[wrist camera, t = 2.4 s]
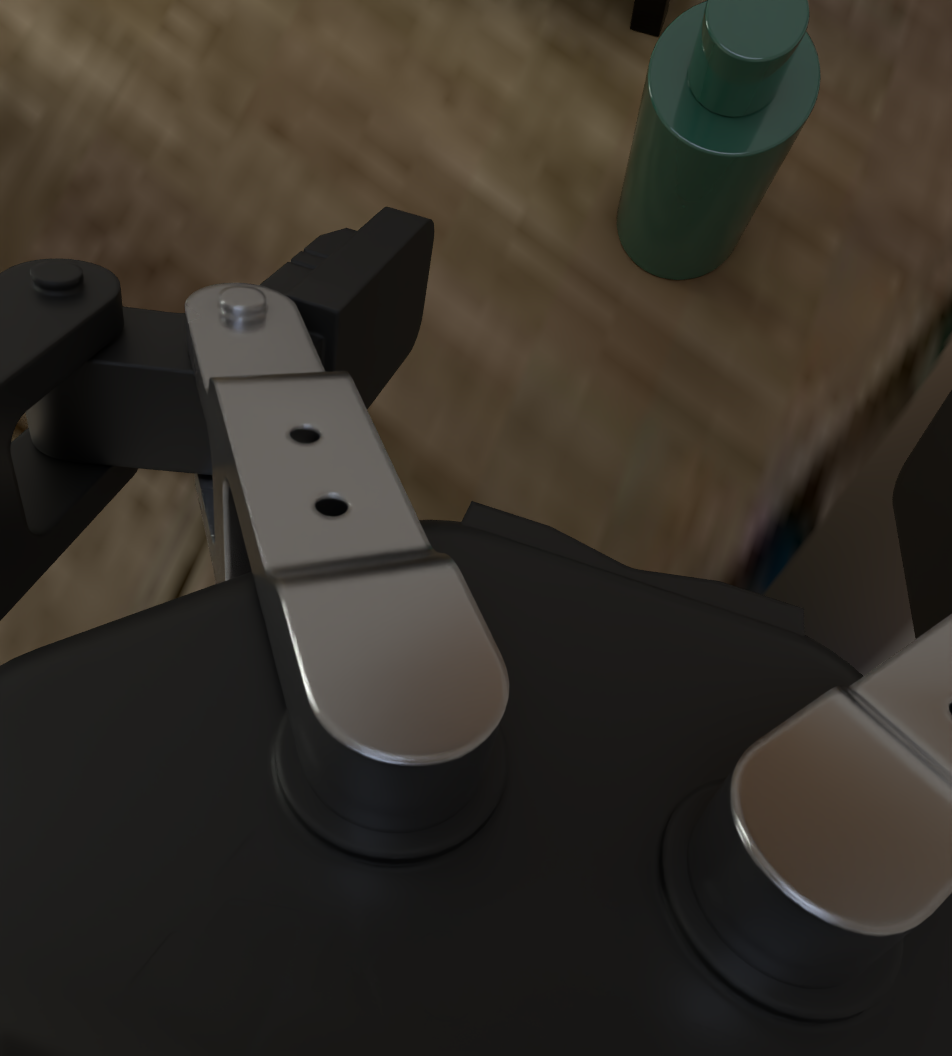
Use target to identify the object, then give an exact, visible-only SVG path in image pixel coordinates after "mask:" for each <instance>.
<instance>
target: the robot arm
mask: <svg viewBox="0 0 952 1056" xmlns="http://www.w3.org/2000/svg"><path fill="white" fill-rule="evenodd" d="M433 241H434V223H433V221H432V220H431V219H428V218H424V217H421V216H417V215H414V214H411V213H407V212H404V211H400V210H397V209H393V208H390V207H385V208H383V209H382V210H381V211H380V212H378V213H377V214H376V215H375V216H374V217H373V218H372V219H371V220H369V221H368V222H367V223H366V224H365V225H364V226H363V227H361V228H360V229H359V230H358V231H355V230H352V229H348V228H345V229H341V230H338V231H334V232H331V233H327V234H324V235H320V236H319V237H318V238H316V239H315V240H314V241H313V242H312V243H310V244H309V245H308V246H307V247H305V248H304V251H303V252H302V251H301V252H299V253H298V254H297V255H296V256H294V257H293V258H292V259H291V262H287V263H286V264H285V265H283V266H282V267H281V268H280V269H279V270H277V271H276V272H275V273H274V274H272V275H271V276H270V277H269V278H268V279H266V280H265V281H264V282H263V283H261V284H260V285H254V284H247V283H223V284H215V285H211V286H207V287H204V288H202V289H199V290H197V291H196V292H194V293H193V294H191V295H190V296H189V297H188V299H187V300H186V303H185V313H171V312H162V311H154V310H146V309H138V308H130V307H123V306H122V297H121V288H120V282H119V280H118V278H117V277H116V276H115V275H114V274H113V273H112V272H111V271H109V270H107V269H106V268H103V267H101V266H99V265H96V264H93V263H89V262H85V261H80V260H73V259H41V260H34V261H29V262H25V263H21V264H18V265H15V266H13V267H11V268H9V269H7V270H5V271H3V272H2V273H0V621H1V619H2V618H3V617H4V616H5V615H6V614H7V613H8V612H9V611H10V610H11V609H12V608H13V606H14V605H15V604H16V603H17V602H18V601H19V600H20V599H21V598H22V597H23V596H24V594H25V593H26V592H27V591H28V590H29V589H30V588H31V587H32V586H33V585H34V584H35V582H36V581H37V580H38V579H39V578H40V577H41V576H42V575H43V574H44V573H45V572H46V571H47V569H48V568H49V567H50V566H51V565H52V564H53V563H54V562H55V561H56V560H57V559H58V557H59V556H60V555H61V554H62V553H63V552H64V551H65V550H66V549H67V548H68V547H69V545H70V544H71V543H72V542H73V541H74V540H75V539H76V538H77V537H78V536H79V535H80V533H81V532H82V531H83V530H84V529H85V528H86V527H87V526H88V525H89V524H90V523H91V522H92V520H93V519H94V518H95V517H96V516H97V515H98V514H99V513H100V512H101V511H102V510H103V508H104V507H105V506H106V505H107V504H108V503H109V502H110V501H111V500H112V499H113V498H114V496H115V495H116V494H117V493H118V492H119V491H120V490H121V489H122V488H123V487H124V486H125V485H126V483H127V482H128V481H129V480H130V479H131V478H132V477H133V476H134V474H135V473H136V472H137V470H138V468H142V469H153V470H163V471H174V472H185V473H194V474H195V486H196V490H197V495H198V500H199V504H200V509H201V514H202V518H203V523H204V528H205V533H206V537H207V542H208V547H209V551H210V556H211V561H212V565H213V570H214V576H215V583H216V584H215V585H213V586H210V587H207V588H204V589H201V590H199V591H196V592H193V593H190V594H188V595H185V596H182V597H179V598H176V599H174V600H171V601H168V602H165V603H163V604H160V605H157V606H154V607H151V608H149V609H146V610H143V611H140V612H138V613H135V614H132V615H129V616H126V617H124V618H121V619H118V620H115V621H113V622H110V623H107V624H104V625H101V626H99V627H96V628H93V629H90V630H88V631H85V632H82V633H79V634H76V635H74V636H71V637H68V638H65V639H63V640H60V641H57V642H54V643H51V644H49V645H46V646H43V647H40V648H38V649H35V650H33V651H30V652H28V653H26V654H23V655H21V656H19V657H16V658H14V659H12V660H10V661H8V662H6V663H5V664H3V665H1V666H0V1056H952V390H951V392H950V393H949V395H948V396H947V398H946V400H945V401H944V403H943V404H942V406H941V407H940V409H939V410H938V412H937V413H936V415H935V416H934V418H933V420H932V421H931V423H930V424H929V426H928V428H927V429H926V430H925V432H924V434H923V435H922V437H921V438H920V440H919V441H918V443H917V445H916V446H915V448H914V449H913V451H912V452H911V454H910V455H909V457H908V458H907V460H906V462H905V463H904V465H903V467H902V469H901V471H900V473H899V475H898V478H897V481H896V484H895V488H894V492H893V509H894V514H895V520H896V526H897V532H898V538H899V543H900V549H901V556H902V561H903V567H904V573H905V579H906V585H907V591H908V597H909V602H910V608H911V614H912V620H913V625H914V632H915V638H916V640H914V641H913V642H911V643H910V644H909V645H907V646H906V647H904V648H903V649H902V650H900V651H899V652H897V653H896V654H894V655H893V656H892V657H891V658H889V659H888V660H886V661H885V662H883V663H882V664H881V665H879V666H878V667H877V668H875V669H873V670H872V671H871V672H869V673H868V674H866V675H865V676H863V675H862V674H860V673H859V672H858V671H857V670H856V669H855V668H854V667H852V666H851V665H850V664H849V663H847V662H846V661H845V660H843V659H842V658H841V657H839V656H838V655H837V654H835V653H834V652H833V651H831V650H830V649H828V648H826V647H825V646H823V645H821V644H820V643H818V642H817V641H815V640H813V639H811V638H810V637H808V636H806V635H804V609H803V608H800V607H797V606H794V605H791V604H788V603H785V602H782V601H779V600H776V599H772V598H769V597H766V596H763V595H760V594H757V593H754V592H751V591H748V590H745V589H742V588H739V587H736V586H732V585H729V584H726V583H723V582H720V581H714V580H707V579H700V578H693V577H686V576H679V575H672V574H665V573H658V572H651V571H644V570H638V569H634V568H631V567H628V566H626V565H623V564H621V563H619V562H618V561H616V560H614V559H612V558H610V557H608V556H606V555H604V554H602V553H600V552H598V551H596V550H595V549H593V548H591V547H589V546H587V545H585V544H583V543H581V542H579V541H577V540H575V539H573V538H572V537H570V536H568V535H566V534H564V533H562V532H560V531H558V530H556V529H554V528H552V527H550V526H547V525H544V524H541V523H538V522H535V521H532V520H529V519H526V518H523V517H519V516H516V515H513V514H510V513H507V512H504V511H501V510H498V509H495V508H492V507H489V506H485V505H482V504H479V503H476V502H473V501H472V502H471V504H470V506H469V508H468V510H467V512H466V514H465V516H464V518H463V520H462V522H456V521H444V520H418V518H417V515H416V513H415V511H414V509H413V507H412V505H411V503H410V501H409V498H408V496H407V494H406V492H405V490H404V488H403V486H402V483H401V481H400V479H399V477H398V475H397V473H396V471H395V469H394V466H393V464H392V462H391V460H390V458H389V456H388V454H387V452H386V449H385V447H384V445H383V443H382V441H381V439H380V437H379V435H378V432H377V430H376V428H375V426H374V424H373V422H372V420H371V417H370V415H369V413H368V411H367V409H368V408H369V406H370V405H371V404H372V403H373V401H374V400H375V399H376V397H377V396H378V395H379V393H380V392H381V391H382V389H383V388H384V387H385V385H386V384H387V383H388V381H389V380H390V379H391V377H392V376H393V375H394V373H395V372H396V371H397V369H398V368H399V367H400V365H401V364H402V363H403V361H404V360H405V359H406V357H407V356H408V355H409V353H410V352H411V350H412V348H413V346H414V344H415V341H416V338H417V336H418V332H419V329H420V325H421V321H422V316H423V309H424V302H425V295H426V289H427V282H428V275H429V268H430V261H431V255H432V248H433ZM25 412H26V416H27V421H28V426H29V428H28V429H26V430H25V431H24V432H23V433H22V434H21V435H19V436H18V437H17V438H16V439H15V440H14V441H12V442H11V439H12V434H13V431H14V429H15V426H16V424H17V422H18V421H19V419H20V418H21V416H22V415H23V414H24V413H25Z"/></svg>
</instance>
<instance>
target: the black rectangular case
mask: <svg viewBox="0 0 952 1056" xmlns="http://www.w3.org/2000/svg"><path fill="white" fill-rule="evenodd" d="M669 2H670V0H635V1H634V7H633V13H632V19H631V25H630V29H632V30H635V31H639V32H643V33H647V34H650V35H654V36H659V35H660V32H661V29H662V26H663V23H664V20H665V17H666V14H667V11H668V6H669Z"/></svg>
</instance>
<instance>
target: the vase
mask: <svg viewBox="0 0 952 1056" xmlns="http://www.w3.org/2000/svg"><path fill="white" fill-rule="evenodd" d="M808 23H809V5H808V0H707V1H705V2H702V3H700V4H698V5H696V6H693V7H692V8H690V9H688V10H687V11H685V12H684V13H682V14H681V15H680V16H678V17H677V18H676V19H675V20H674V21H673V22H672V23H671V24H670V25H669V26H668V27H667V28H666V29H665V31H664V32H663V33H662V35H661V36H660V38H659V39H658V41H657V43H656V45H655V47H654V49H653V52H652V54H651V58H650V61H649V65H648V70H647V75H646V80H645V84H644V89H643V94H642V98H641V103H640V108H639V112H638V117H637V122H636V126H635V131H634V136H633V140H632V145H631V150H630V154H629V159H628V164H627V168H626V173H625V178H624V182H623V187H622V192H621V196H620V201H619V206H618V211H617V230H618V235H619V238H620V241H621V243H622V246H623V248H624V249H625V251H626V253H627V254H628V255H629V257H630V258H631V259H632V260H633V261H634V262H635V263H636V264H637V265H638V266H640V267H641V268H642V269H644V270H645V271H647V272H649V273H651V274H653V275H656V276H659V277H662V278H666V279H674V280H685V279H692V278H696V277H699V276H702V275H705V274H707V273H709V272H711V271H713V270H714V269H716V268H717V267H718V266H720V265H721V264H722V263H723V262H724V261H725V260H726V259H727V258H728V257H729V256H730V254H731V253H732V252H733V250H734V248H735V247H736V245H737V243H738V241H739V240H740V238H741V236H742V234H743V232H744V231H745V229H746V227H747V225H748V224H749V222H750V220H751V218H752V216H753V215H754V213H755V211H756V209H757V208H758V206H759V204H760V202H761V200H762V199H763V197H764V195H765V193H766V192H767V190H768V188H769V186H770V184H771V183H772V181H773V179H774V177H775V176H776V174H777V172H778V170H779V168H780V167H781V165H782V163H783V161H784V160H785V158H786V156H787V154H788V152H789V151H790V149H791V147H792V145H793V144H794V142H795V140H796V138H797V136H798V135H799V133H800V131H801V129H802V128H803V126H804V124H805V122H806V120H807V119H808V117H809V115H810V113H811V112H812V110H813V108H814V105H815V103H816V100H817V97H818V93H819V88H820V64H819V59H818V55H817V52H816V49H815V46H814V44H813V42H812V40H811V38H810V36H809V35H808V33H807V32H806V30H807V27H808Z"/></svg>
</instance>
